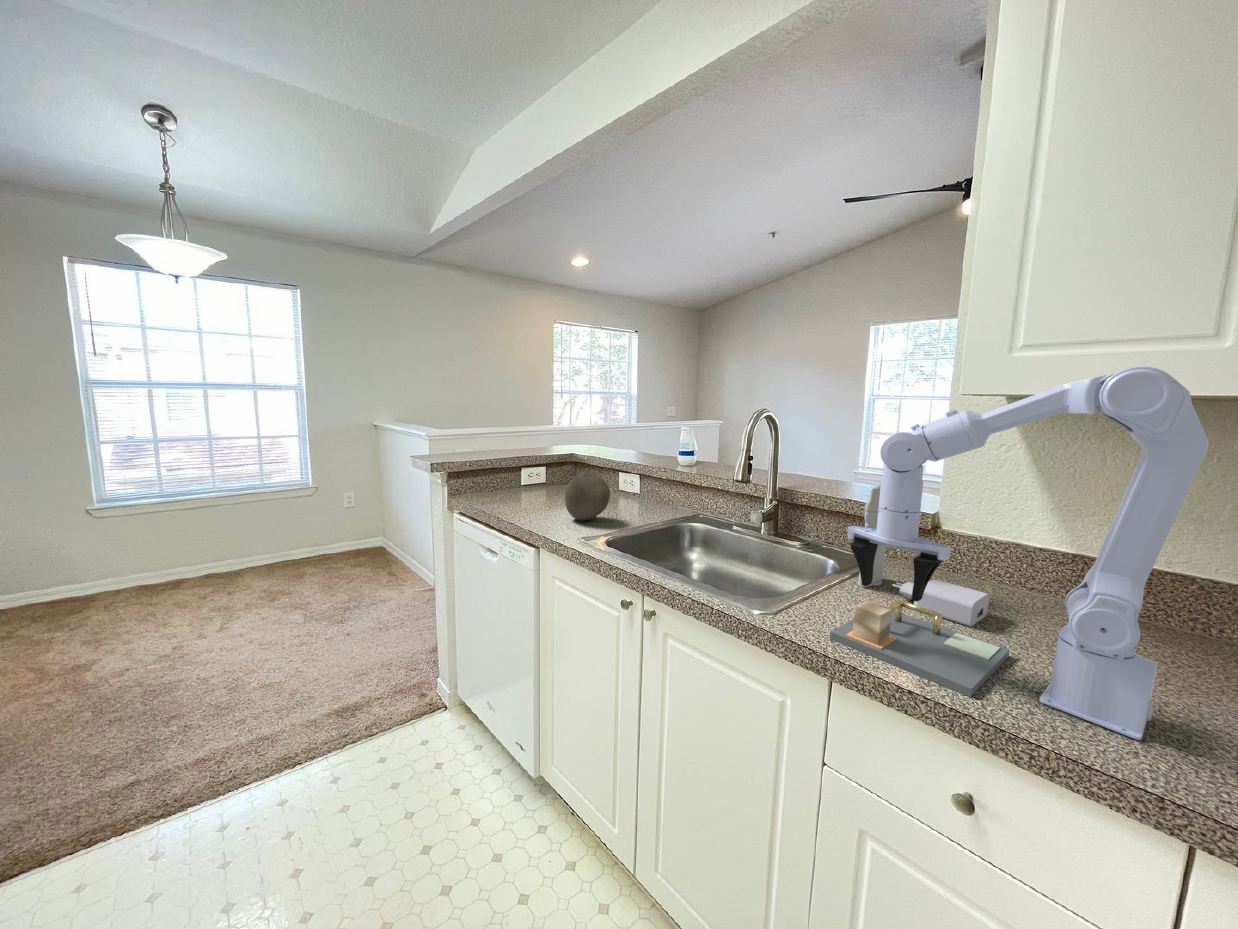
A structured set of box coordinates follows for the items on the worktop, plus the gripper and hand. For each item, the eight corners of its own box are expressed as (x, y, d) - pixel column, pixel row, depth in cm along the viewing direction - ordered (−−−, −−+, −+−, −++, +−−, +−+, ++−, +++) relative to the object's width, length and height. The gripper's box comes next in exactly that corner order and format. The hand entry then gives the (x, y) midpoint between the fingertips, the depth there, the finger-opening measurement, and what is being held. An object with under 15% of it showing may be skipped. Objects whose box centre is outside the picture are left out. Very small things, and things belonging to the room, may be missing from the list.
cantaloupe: (567, 526, 148) (568, 477, 146) (561, 515, 161) (562, 470, 159) (613, 525, 151) (614, 477, 149) (603, 514, 165) (604, 470, 162)
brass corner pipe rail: (940, 634, 82) (943, 612, 81) (924, 646, 78) (926, 624, 77) (896, 619, 87) (898, 598, 87) (878, 629, 83) (880, 608, 83)
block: (889, 638, 80) (892, 608, 79) (877, 645, 77) (880, 615, 77) (864, 628, 83) (867, 600, 82) (852, 635, 80) (855, 606, 80)
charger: (903, 590, 105) (987, 616, 93) (883, 600, 99) (969, 629, 87) (905, 569, 104) (990, 592, 92) (885, 577, 98) (973, 603, 87)
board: (1008, 656, 78) (1009, 648, 78) (970, 697, 67) (971, 687, 66) (878, 611, 93) (879, 604, 93) (829, 638, 82) (830, 630, 82)
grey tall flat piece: (869, 591, 103) (879, 488, 100) (850, 585, 106) (859, 485, 103) (890, 580, 110) (900, 483, 107) (871, 574, 113) (880, 480, 110)
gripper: (961, 514, 74) (951, 600, 76) (864, 498, 85) (857, 573, 87) (944, 521, 69) (934, 612, 71) (844, 503, 81) (837, 582, 82)
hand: (890, 591), depth 79 cm, fingers open, 7 cm apart
